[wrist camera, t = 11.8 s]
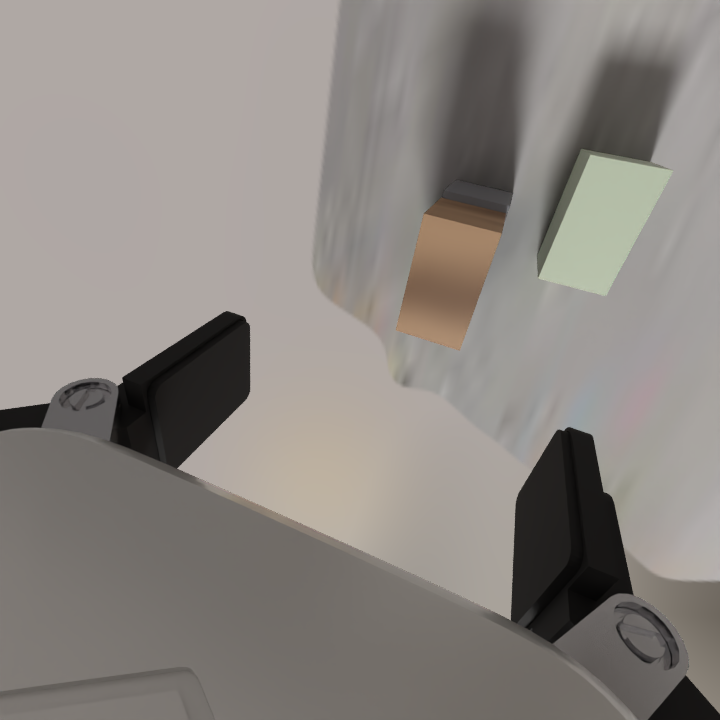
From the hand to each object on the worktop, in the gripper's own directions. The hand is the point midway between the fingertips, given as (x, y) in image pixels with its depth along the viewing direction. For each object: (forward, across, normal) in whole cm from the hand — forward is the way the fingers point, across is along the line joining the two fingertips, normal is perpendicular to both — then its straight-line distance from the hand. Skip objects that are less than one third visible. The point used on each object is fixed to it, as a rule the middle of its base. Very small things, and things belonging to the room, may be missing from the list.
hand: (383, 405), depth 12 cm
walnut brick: (+17, 0, +1) cm, 17 cm away
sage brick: (+22, -7, -3) cm, 24 cm away
